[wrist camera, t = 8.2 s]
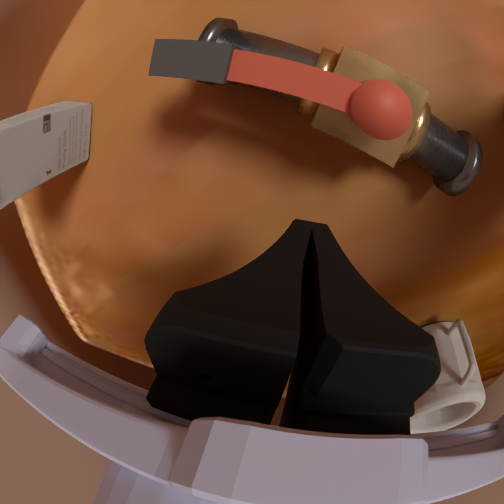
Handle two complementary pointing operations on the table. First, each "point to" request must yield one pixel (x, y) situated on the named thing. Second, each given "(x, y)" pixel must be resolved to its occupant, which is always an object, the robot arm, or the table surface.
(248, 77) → the lever
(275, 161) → the table surface
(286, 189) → the table surface
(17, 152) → the skincare box
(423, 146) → the pipe
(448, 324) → the mug
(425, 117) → the valve body
